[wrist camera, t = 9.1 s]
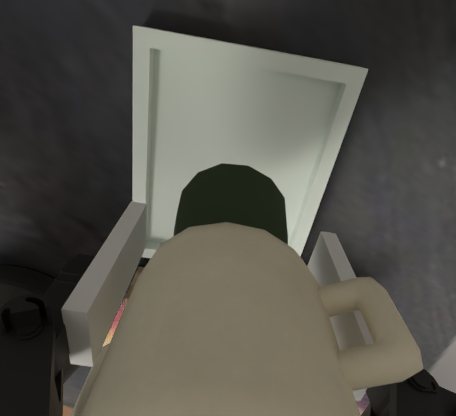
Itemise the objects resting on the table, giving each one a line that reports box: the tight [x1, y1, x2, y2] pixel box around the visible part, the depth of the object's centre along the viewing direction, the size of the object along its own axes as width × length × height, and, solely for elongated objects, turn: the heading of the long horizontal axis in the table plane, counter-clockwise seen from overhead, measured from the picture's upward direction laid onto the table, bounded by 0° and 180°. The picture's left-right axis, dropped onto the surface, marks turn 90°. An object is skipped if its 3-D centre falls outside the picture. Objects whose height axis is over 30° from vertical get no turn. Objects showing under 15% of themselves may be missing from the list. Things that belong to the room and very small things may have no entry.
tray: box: [132, 25, 368, 258], centre depth 23 cm, size 14×17×2 cm
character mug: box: [71, 163, 423, 416], centre depth 12 cm, size 11×7×13 cm, turn 113°
